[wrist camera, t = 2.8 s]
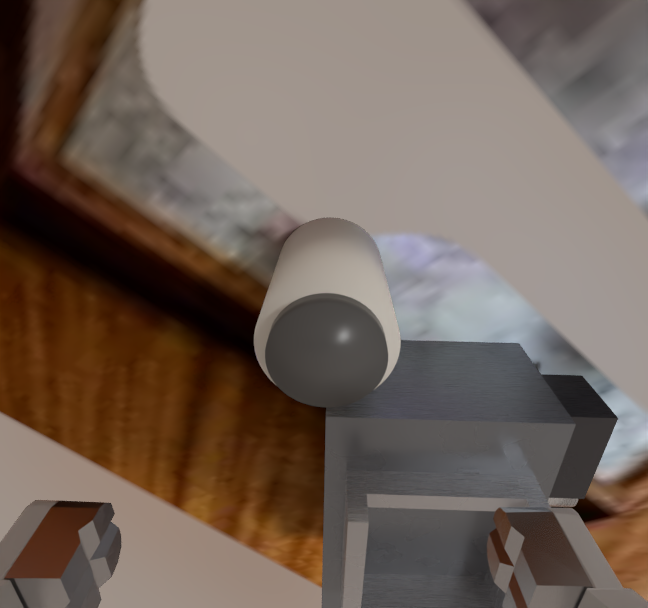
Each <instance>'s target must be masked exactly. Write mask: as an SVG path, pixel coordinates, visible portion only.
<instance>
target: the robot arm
mask: <svg viewBox="0 0 648 608" xmlns="http://www.w3.org/2000/svg"><path fill="white" fill-rule="evenodd" d="M113 516H114V510H113V508H112V505H111V503H101V502H100V503H99V502H77V501H47V500H35V501H34V502H32V503H31V504H30V505H28V506H27V507H26V508H25V510H24V511H23V512H22V514H21V515H20V516H19V518H18V519H17V520H16V522H15V523H14V525H13V526H12V527H11V528H10V530H9V531H8V533H7V534H6V535H5V537H4V538H3V539H2V541H1V542H0V608H98V606H99V604H100V601H101V597H100V592H99V587H101V586H102V585H103V584H104V583H105V582H106V581H107V580H109V579H110V578H111V577H112V575H113V572H114V570H115V567H116V565H117V563H118V559H119V554H120V549H121V534H120V530H119V528H118V527H117V526H116V525H115V524H113V523H112V522H111V520H112V518H113ZM493 520H494V523H495V525H496V528H495V529H494V530H493V531H491V532H490V533H489V537H488V541H487V558H488V563H489V568H490V571H491V574H492V577H493V580H494V583H495V584H496V585H497V586H498V587H499V588H500V589H501V590H502V591H503V592H504V593H505V594H506V595H505V598H504V601H503V604H502V607H503V608H648V602H647V601H646V600H645V599H644V598H642V597H641V596H640V595H639V594H637V593H636V592H635V591H634V590H632V589H627V588H623V587H622V585H621V583H620V582H619V580H618V578H617V577H616V575H615V573H614V572H613V570H612V569H611V567H610V565H609V564H608V562H607V560H606V559H605V557H604V555H603V554H602V552H601V550H600V549H599V547H598V546H597V544H596V542H595V541H594V539H593V537H592V536H591V534H590V532H589V531H588V529H587V528H586V526H585V524H584V523H583V521H582V519H581V518H580V516H579V514H578V513H577V512H576V511H575V510H574V509H572V508H545V507H499V508H498V509H497V510H496V511H495V514H494V518H493Z"/></svg>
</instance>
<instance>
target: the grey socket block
mask: <svg viewBox="0 0 648 608" xmlns="http://www.w3.org/2000/svg"><path fill="white" fill-rule="evenodd" d="M617 420H618V418H617V416H616V415H615V414H614V413H613V412H612V411H611V409H610V408H609V407H608V406H607V405H606V403H605V402H604V401H603V400H602V399H601V398H600V396H599V395H598V394H597V393H596V392H595V390H594V389H593V388H592V387H591V386H590V385H589V383H588V382H587V381H586V380H585V379H584V377H583V376H574V375H541V374H540V373H539V371H538V370H537V368H536V367H535V365H534V364H533V363H532V361H531V360H530V358H529V357H528V356H527V354H526V353H525V351H524V350H523V348H522V347H521V346H520V344H513V343H474V342H436V341H401V344H400V352H399V357H398V360H397V363H396V365H395V367H394V369H393V370H392V372H391V373H390V375H389V376H388V377H387V379H386V380H385V381H384V382H383V383H382V384H381V385H379V386H378V387H377V388H376V389H374V390H373V391H372V392H371V393H369V394H368V395H367V396H365V397H364V398H362V399H360V400H358V401H356V402H354V403H351V404H348V405H344V406H339V407H326V430H325V478H324V525H323V573H322V608H503V607H502V604H503V601H504V598H505V595H506V594H505V593H504V592H503V591H502V590H501V589H500V588H499V587H498V586H497V585H496V584H495V583H494V580H493V577H492V574H491V571H490V568H489V563H488V558H487V541H488V537H489V533H490V532H491V531H493V530H494V529H495V528H496V525H495V523H494V520H493V518H494V514H495V511H496V510H497V509H498V508H499V507H545V508H551V507H550V506H557V507H574V506H575V505H576V504H577V502H578V499H584V498H585V495H586V493H587V490H588V488H589V486H590V483H591V481H592V479H593V476H594V474H595V472H596V469H597V467H598V464H599V462H600V460H601V457H602V455H603V453H604V450H605V448H606V446H607V443H608V441H609V439H610V436H611V434H612V431H613V429H614V427H615V424H616V422H617Z"/></svg>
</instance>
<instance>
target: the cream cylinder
mask: <svg viewBox="0 0 648 608" xmlns="http://www.w3.org/2000/svg"><path fill="white" fill-rule="evenodd" d="M400 344H401V338H400V331H399V327H398V323H397V319H396V315H395V311H394V307H393V303H392V299H391V295H390V291H389V288H388V284H387V280H386V276H385V272H384V268H383V264H382V260H381V256H380V253H379V250H378V247H377V245H376V243H375V242H374V240H373V239H372V237H371V236H370V235H369V234H368V233H367V232H366V231H365V230H364V229H362V228H361V227H360V226H358V225H356V224H354V223H352V222H350V221H347V220H344V219H340V218H321V219H316V220H313V221H310V222H307V223H305V224H303V225H302V226H300V227H299V228H297V229H296V230H295V231H294V232H293V233H292V234H291V235H290V236H289V237H288V239H287V240H286V241H285V243H284V245H283V247H282V250H281V253H280V256H279V259H278V261H277V264H276V267H275V270H274V273H273V276H272V279H271V282H270V285H269V288H268V291H267V294H266V297H265V300H264V303H263V306H262V309H261V312H260V315H259V318H258V321H257V324H256V327H255V332H254V348H255V353H256V357H257V360H258V362H259V364H260V366H261V368H262V370H263V371H264V373H265V374H266V375H267V377H268V378H269V379H270V380H271V381H272V382H273V383H274V384H275V385H276V386H278V387H279V388H280V389H281V390H282V391H283V392H284V393H285V394H287V395H288V396H289V397H291V398H293V399H295V400H297V401H299V402H301V403H304V404H307V405H311V406H316V407H339V406H344V405H348V404H351V403H354V402H356V401H358V400H360V399H362V398H364V397H365V396H367V395H368V394H369V393H371V392H372V391H373V390H374V389H376V388H377V387H378V386H379V385H381V384H382V383H383V382H384V381H385V380H386V379H387V377H388V376H389V375H390V373H391V372H392V370H393V369H394V367H395V365H396V363H397V360H398V357H399V352H400Z"/></svg>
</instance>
